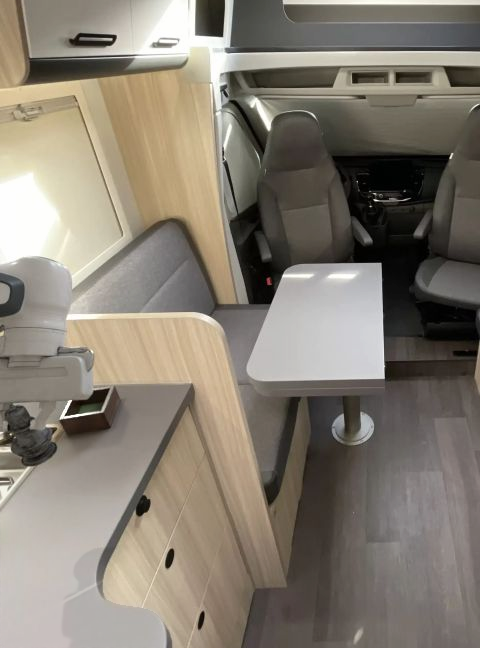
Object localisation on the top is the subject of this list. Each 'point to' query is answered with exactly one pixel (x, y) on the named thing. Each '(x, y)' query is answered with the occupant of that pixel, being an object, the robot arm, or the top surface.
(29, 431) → the dark grey chess piece
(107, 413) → the open brown box
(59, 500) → the top surface
